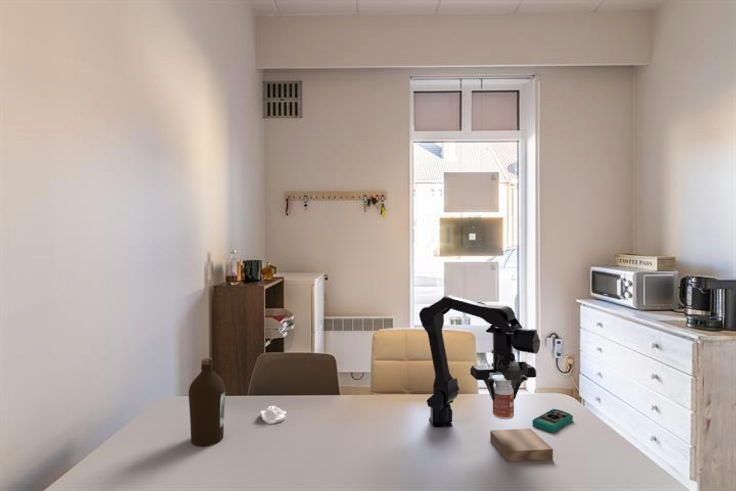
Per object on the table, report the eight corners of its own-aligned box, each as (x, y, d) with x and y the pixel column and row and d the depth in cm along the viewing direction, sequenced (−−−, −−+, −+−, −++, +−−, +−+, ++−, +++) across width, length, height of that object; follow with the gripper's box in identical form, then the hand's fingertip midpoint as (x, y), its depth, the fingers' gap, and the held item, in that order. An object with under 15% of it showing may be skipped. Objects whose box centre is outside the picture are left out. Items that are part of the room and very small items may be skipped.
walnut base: (508, 462, 119) (508, 451, 119) (490, 440, 132) (490, 430, 132) (552, 459, 120) (552, 449, 120) (530, 437, 133) (530, 428, 133)
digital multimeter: (574, 421, 146) (574, 413, 146) (553, 434, 137) (553, 425, 137) (553, 415, 152) (553, 406, 152) (531, 427, 142) (531, 418, 142)
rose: (252, 408, 146) (270, 398, 154) (252, 421, 146) (271, 410, 155) (275, 413, 141) (293, 403, 150) (275, 427, 141) (293, 416, 150)
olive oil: (188, 450, 125) (187, 365, 125) (189, 434, 135) (189, 356, 135) (226, 444, 129) (225, 362, 128) (225, 429, 139) (224, 353, 138)
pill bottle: (514, 421, 126) (513, 383, 126) (492, 418, 128) (492, 382, 128) (513, 413, 132) (513, 377, 132) (492, 411, 134) (492, 375, 134)
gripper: (483, 356, 121) (483, 411, 121) (545, 354, 123) (546, 408, 123) (469, 347, 132) (470, 397, 132) (527, 344, 134) (527, 394, 134)
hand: (503, 399), depth 130 cm, fingers closed on pill bottle, 6 cm apart
